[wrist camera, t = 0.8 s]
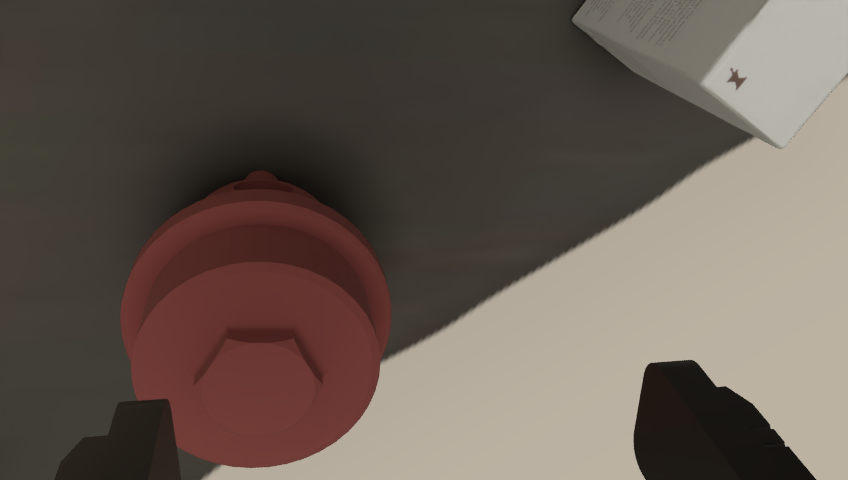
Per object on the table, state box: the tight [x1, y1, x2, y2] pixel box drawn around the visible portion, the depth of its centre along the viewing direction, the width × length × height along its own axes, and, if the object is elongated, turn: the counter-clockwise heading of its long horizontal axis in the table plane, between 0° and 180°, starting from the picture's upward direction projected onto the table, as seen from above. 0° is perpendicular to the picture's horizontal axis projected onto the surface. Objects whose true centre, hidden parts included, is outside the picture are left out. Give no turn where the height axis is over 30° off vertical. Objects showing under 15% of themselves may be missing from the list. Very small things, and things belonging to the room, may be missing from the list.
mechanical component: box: [120, 170, 391, 468], centre depth 32 cm, size 12×10×10 cm
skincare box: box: [572, 0, 848, 149], centre depth 30 cm, size 6×4×12 cm
